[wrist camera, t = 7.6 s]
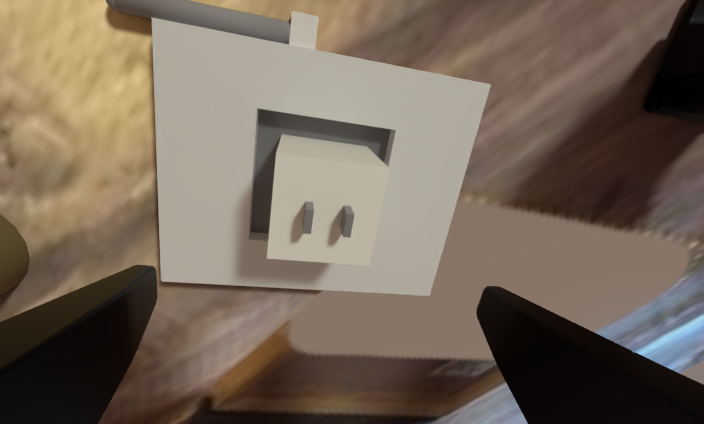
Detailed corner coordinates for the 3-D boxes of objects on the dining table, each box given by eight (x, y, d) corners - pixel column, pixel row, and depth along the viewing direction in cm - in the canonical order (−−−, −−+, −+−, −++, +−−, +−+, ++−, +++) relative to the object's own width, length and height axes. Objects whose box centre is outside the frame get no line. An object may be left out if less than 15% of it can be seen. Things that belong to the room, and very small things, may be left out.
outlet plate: (479, 84, 18) (490, 84, 17) (422, 285, 23) (429, 295, 22) (162, 21, 15) (151, 17, 14) (168, 269, 20) (161, 281, 18)
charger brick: (366, 146, 18) (396, 175, 13) (353, 222, 20) (374, 277, 14) (281, 134, 17) (274, 159, 12) (274, 215, 19) (264, 270, 13)
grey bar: (317, 19, 16) (318, 16, 15) (312, 60, 17) (313, 59, 16) (110, -25, 14) (97, -32, 13) (113, 22, 15) (101, 18, 14)
